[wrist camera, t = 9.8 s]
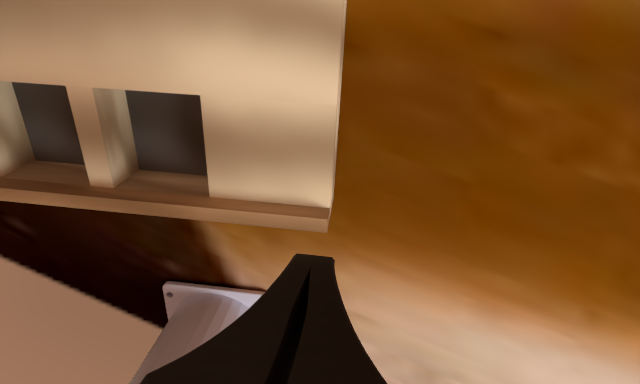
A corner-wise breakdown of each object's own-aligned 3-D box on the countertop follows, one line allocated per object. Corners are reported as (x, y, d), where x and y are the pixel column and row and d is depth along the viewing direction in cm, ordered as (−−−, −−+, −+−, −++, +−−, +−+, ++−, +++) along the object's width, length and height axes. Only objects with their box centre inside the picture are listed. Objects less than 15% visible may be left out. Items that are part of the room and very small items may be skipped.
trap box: (333, 196, 24) (327, 232, 20) (-51, 161, 26) (-122, 188, 22) (352, -77, 17) (347, -99, 14) (-157, -93, 19) (-282, -117, 16)
